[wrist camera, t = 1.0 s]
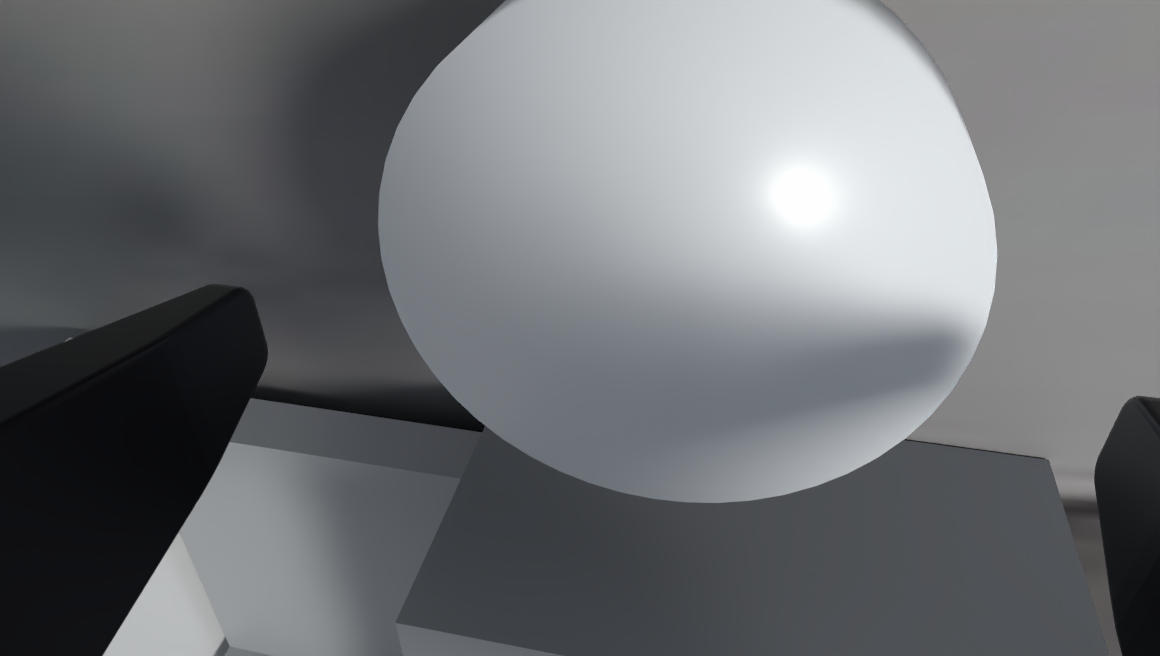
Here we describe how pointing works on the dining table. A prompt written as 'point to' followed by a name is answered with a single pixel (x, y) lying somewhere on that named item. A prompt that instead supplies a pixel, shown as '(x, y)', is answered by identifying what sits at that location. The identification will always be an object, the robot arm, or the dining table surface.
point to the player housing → (756, 565)
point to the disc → (691, 238)
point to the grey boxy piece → (301, 538)
